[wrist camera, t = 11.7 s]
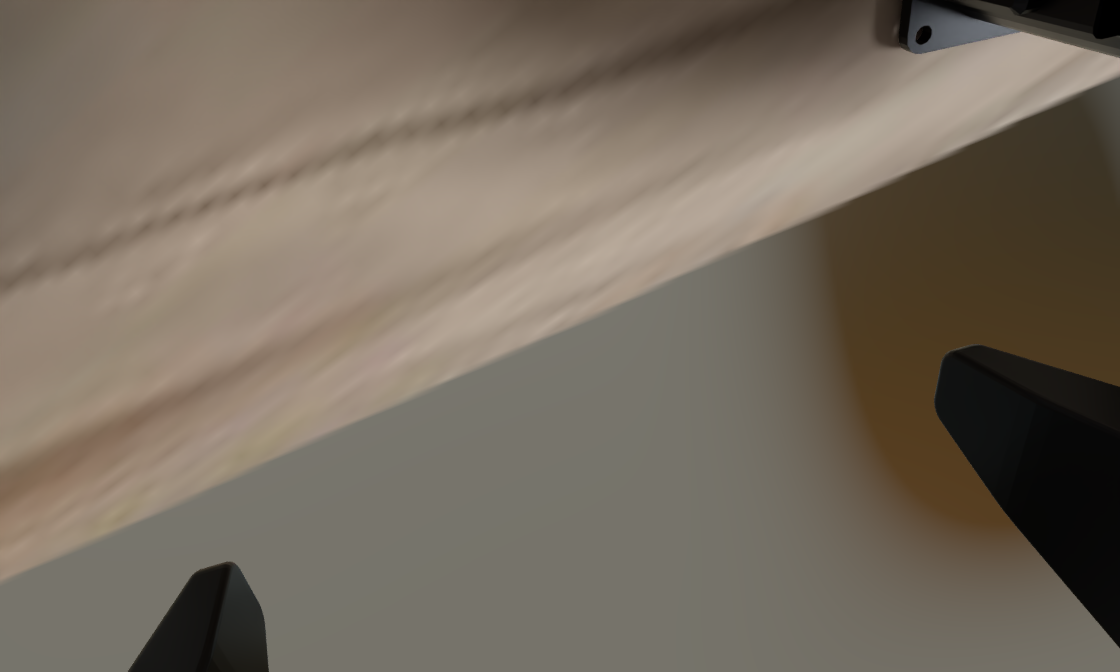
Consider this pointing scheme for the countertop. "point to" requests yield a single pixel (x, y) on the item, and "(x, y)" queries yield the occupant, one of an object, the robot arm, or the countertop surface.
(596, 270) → the countertop surface
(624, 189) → the countertop surface
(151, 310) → the countertop surface
